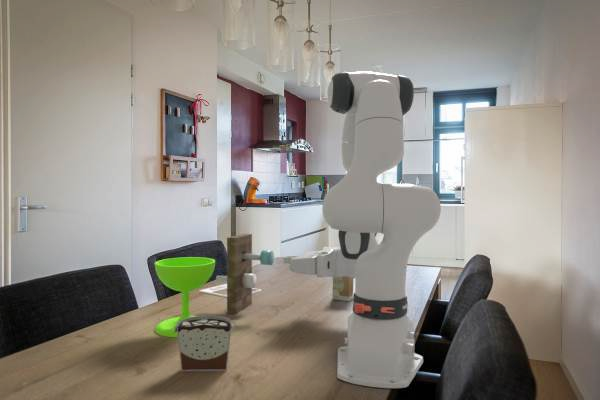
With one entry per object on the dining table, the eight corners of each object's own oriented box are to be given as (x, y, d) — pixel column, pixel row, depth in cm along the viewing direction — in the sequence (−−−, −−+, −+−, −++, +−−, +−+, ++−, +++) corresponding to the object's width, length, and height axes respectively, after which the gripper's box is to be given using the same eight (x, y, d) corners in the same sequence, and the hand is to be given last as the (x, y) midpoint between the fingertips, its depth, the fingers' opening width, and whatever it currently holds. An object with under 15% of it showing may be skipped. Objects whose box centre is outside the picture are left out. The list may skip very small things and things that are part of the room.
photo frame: (227, 283, 172) (262, 289, 162) (227, 285, 172) (262, 292, 162) (199, 289, 160) (234, 297, 150) (199, 292, 160) (234, 300, 150)
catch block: (251, 303, 143) (251, 234, 143) (236, 313, 132) (236, 237, 131) (243, 303, 144) (243, 233, 144) (227, 312, 133) (227, 237, 132)
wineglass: (153, 322, 123) (153, 258, 123) (210, 316, 129) (210, 255, 129) (156, 340, 108) (155, 268, 108) (220, 333, 114) (220, 264, 114)
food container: (237, 359, 97) (237, 314, 97) (233, 370, 91) (233, 322, 90) (181, 359, 96) (181, 314, 96) (174, 371, 90) (173, 323, 90)
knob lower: (256, 286, 139) (256, 272, 139) (250, 289, 134) (250, 275, 134) (220, 283, 142) (220, 270, 142) (213, 286, 138) (213, 272, 138)
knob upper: (274, 263, 137) (274, 249, 137) (269, 266, 133) (269, 251, 132) (237, 261, 140) (237, 248, 140) (231, 264, 136) (231, 250, 136)
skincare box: (331, 299, 149) (332, 264, 149) (336, 296, 153) (337, 262, 153) (349, 301, 146) (349, 265, 146) (354, 299, 150) (354, 263, 150)
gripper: (336, 247, 139) (295, 245, 143) (321, 255, 120) (273, 253, 124) (336, 266, 139) (295, 264, 143) (320, 278, 120) (273, 275, 124)
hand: (285, 259), depth 133 cm, fingers closed
